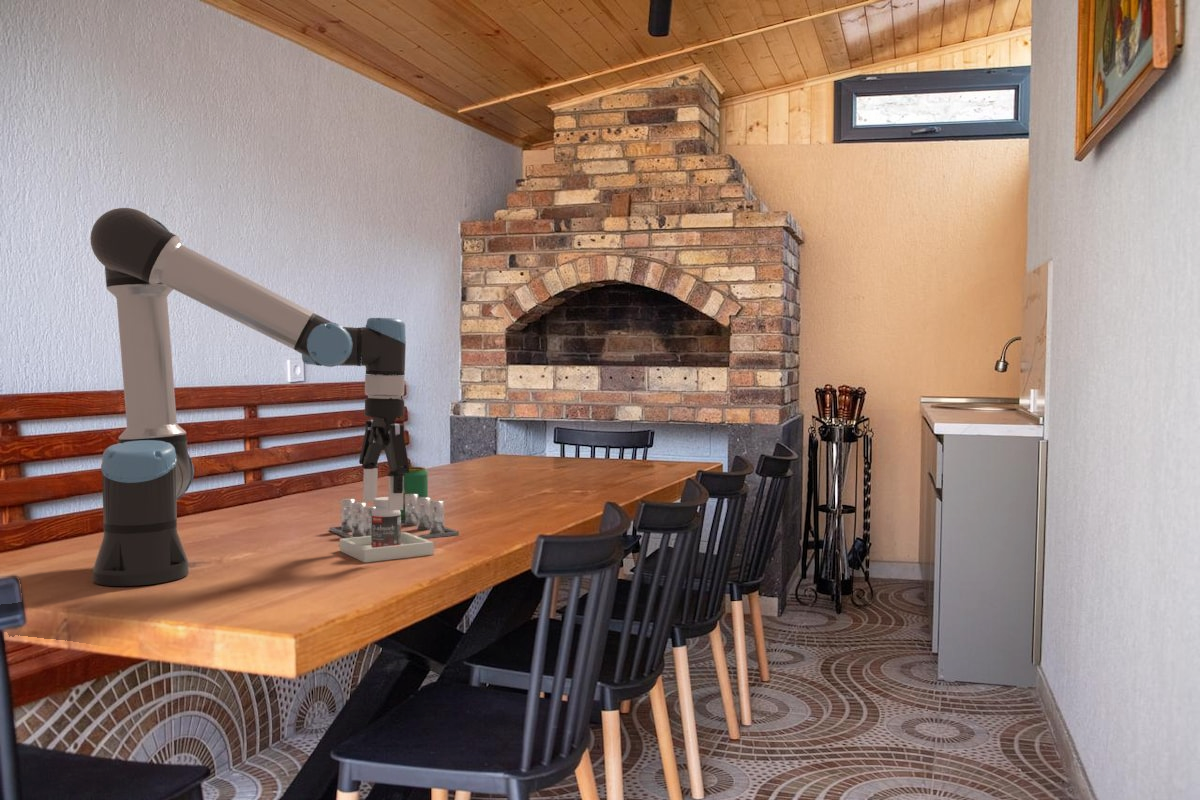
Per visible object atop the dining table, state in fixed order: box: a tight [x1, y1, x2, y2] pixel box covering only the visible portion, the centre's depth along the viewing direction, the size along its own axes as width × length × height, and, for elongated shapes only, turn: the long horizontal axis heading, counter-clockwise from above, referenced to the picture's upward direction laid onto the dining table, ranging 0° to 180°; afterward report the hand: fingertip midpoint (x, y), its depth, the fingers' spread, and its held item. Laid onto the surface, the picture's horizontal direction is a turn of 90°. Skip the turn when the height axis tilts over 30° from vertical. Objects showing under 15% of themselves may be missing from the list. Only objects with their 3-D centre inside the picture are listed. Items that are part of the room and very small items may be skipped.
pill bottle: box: [371, 496, 402, 548], centre depth 198 cm, size 6×6×10 cm
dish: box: [339, 531, 435, 563], centre depth 198 cm, size 14×14×2 cm
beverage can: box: [400, 466, 429, 521], centre depth 242 cm, size 8×8×12 cm
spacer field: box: [329, 494, 460, 539], centre depth 222 cm, size 22×22×7 cm
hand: (382, 505), depth 198 cm, fingers open, 13 cm apart
